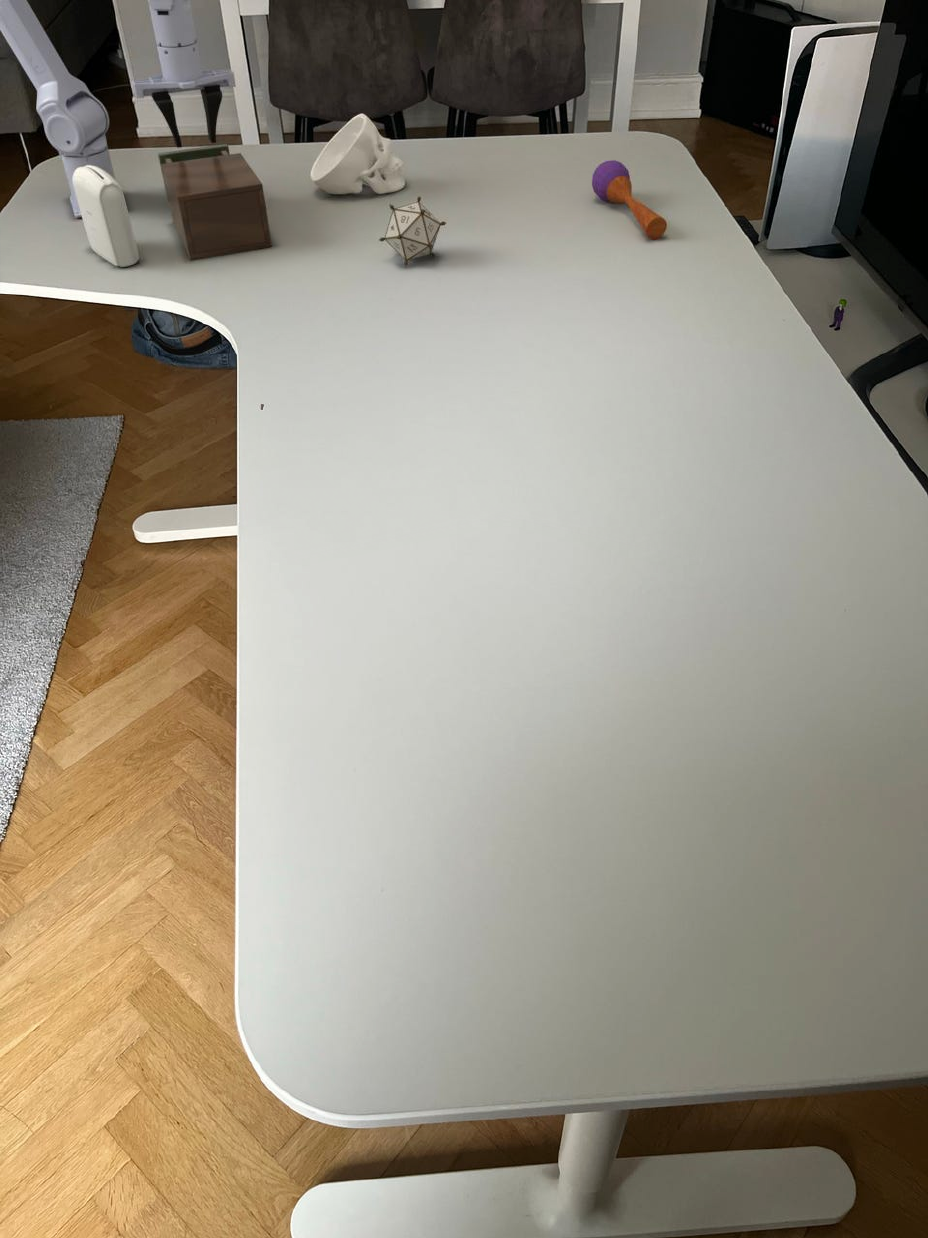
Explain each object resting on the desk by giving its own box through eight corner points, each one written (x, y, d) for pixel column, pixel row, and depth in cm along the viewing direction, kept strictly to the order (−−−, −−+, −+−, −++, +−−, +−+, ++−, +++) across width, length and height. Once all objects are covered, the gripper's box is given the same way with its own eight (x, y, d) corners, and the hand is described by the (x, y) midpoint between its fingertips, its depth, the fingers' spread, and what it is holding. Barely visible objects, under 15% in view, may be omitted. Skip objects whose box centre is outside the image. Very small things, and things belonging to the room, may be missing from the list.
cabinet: (173, 224, 155) (160, 163, 148) (250, 212, 158) (240, 152, 152) (190, 260, 145) (177, 196, 138) (271, 246, 148) (262, 183, 142)
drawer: (163, 191, 163) (153, 144, 158) (229, 181, 166) (221, 135, 161) (182, 230, 151) (171, 180, 146) (253, 219, 153) (245, 170, 148)
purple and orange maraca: (636, 215, 144) (584, 160, 157) (638, 252, 148) (587, 196, 161) (674, 202, 144) (619, 149, 157) (675, 240, 149) (621, 185, 162)
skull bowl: (421, 185, 161) (376, 120, 153) (353, 238, 165) (306, 178, 157) (409, 163, 169) (366, 100, 161) (344, 215, 172) (299, 156, 164)
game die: (403, 286, 145) (357, 235, 139) (424, 245, 149) (379, 193, 143) (445, 269, 139) (399, 215, 133) (466, 227, 142) (422, 172, 137)
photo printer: (87, 249, 148) (63, 162, 140) (114, 241, 150) (91, 155, 142) (116, 270, 142) (93, 181, 134) (144, 262, 144) (123, 174, 136)
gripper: (129, 54, 137) (151, 157, 147) (232, 43, 141) (248, 144, 150) (122, 42, 142) (144, 143, 151) (222, 32, 146) (238, 130, 155)
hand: (195, 143), depth 151 cm, fingers open, 5 cm apart
